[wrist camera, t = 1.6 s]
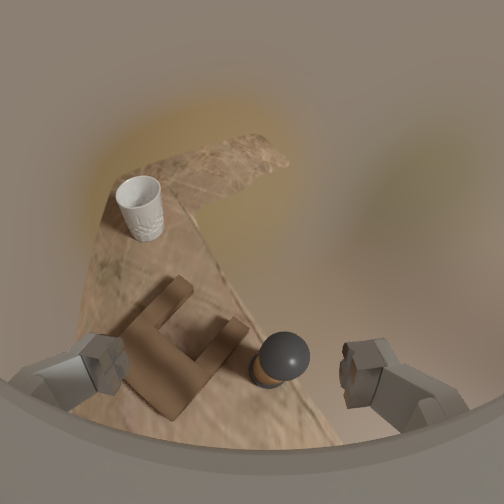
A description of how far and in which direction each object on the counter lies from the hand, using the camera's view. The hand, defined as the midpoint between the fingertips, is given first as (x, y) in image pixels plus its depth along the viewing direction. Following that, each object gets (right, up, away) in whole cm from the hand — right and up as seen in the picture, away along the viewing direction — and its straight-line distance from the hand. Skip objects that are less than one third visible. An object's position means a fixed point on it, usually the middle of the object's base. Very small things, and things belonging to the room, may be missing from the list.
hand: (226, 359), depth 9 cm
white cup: (-19, +8, +41) cm, 46 cm away
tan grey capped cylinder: (+3, -14, +29) cm, 32 cm away
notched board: (-11, -11, +29) cm, 33 cm away
